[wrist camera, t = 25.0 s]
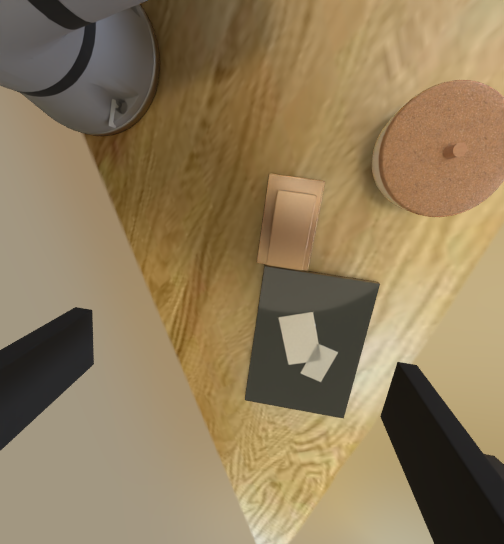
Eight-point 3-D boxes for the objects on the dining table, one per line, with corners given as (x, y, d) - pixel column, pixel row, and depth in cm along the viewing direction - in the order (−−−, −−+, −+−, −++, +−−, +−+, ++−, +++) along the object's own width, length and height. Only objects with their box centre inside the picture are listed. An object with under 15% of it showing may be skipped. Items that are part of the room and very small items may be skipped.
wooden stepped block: (270, 174, 34) (266, 170, 26) (322, 181, 33) (334, 179, 25) (258, 257, 37) (250, 277, 29) (306, 265, 36) (312, 287, 28)
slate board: (264, 264, 37) (264, 266, 36) (378, 281, 36) (380, 283, 35) (245, 396, 42) (244, 400, 42) (342, 414, 42) (343, 418, 41)
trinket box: (465, 200, 32) (534, 204, 23) (364, 219, 34) (394, 230, 25) (462, 93, 30) (539, 52, 21) (354, 120, 31) (382, 92, 22)
